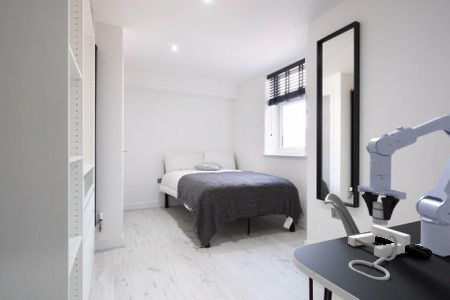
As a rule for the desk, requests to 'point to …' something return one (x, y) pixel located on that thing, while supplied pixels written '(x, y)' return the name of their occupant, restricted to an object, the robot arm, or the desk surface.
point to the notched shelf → (384, 233)
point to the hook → (377, 262)
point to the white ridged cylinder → (378, 214)
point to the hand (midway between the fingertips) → (379, 217)
